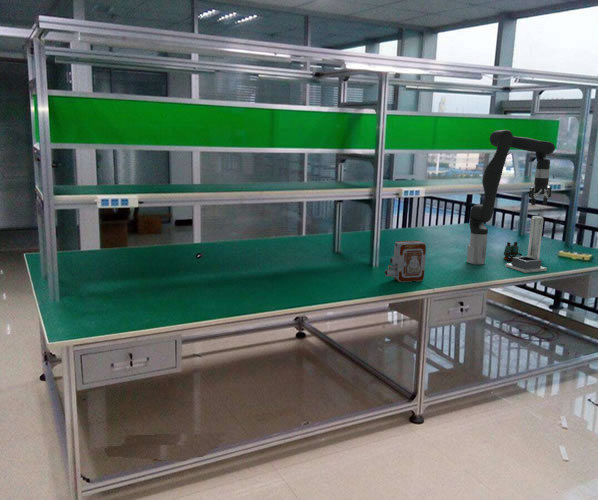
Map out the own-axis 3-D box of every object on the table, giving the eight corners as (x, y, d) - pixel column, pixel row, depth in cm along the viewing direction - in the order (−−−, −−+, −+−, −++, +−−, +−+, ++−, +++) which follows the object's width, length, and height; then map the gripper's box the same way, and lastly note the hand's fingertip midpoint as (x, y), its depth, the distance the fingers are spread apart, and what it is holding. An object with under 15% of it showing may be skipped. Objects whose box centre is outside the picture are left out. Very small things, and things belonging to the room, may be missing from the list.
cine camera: (381, 279, 279) (383, 240, 275) (417, 277, 283) (419, 238, 279) (388, 283, 270) (390, 243, 266) (425, 282, 274) (428, 242, 270)
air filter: (526, 258, 329) (531, 216, 324) (527, 256, 335) (532, 215, 329) (538, 259, 326) (543, 217, 321) (539, 257, 332) (544, 216, 326)
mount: (524, 272, 295) (525, 262, 294) (505, 266, 309) (506, 256, 308) (546, 270, 301) (547, 260, 300) (526, 264, 314) (527, 254, 313)
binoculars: (513, 246, 316) (503, 241, 325) (510, 263, 319) (500, 258, 328) (527, 245, 317) (517, 240, 327) (524, 263, 321) (514, 257, 330)
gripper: (537, 177, 314) (533, 206, 317) (556, 177, 319) (553, 205, 322) (527, 176, 321) (524, 204, 324) (546, 176, 326) (543, 203, 329)
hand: (538, 204), depth 323 cm, fingers open, 8 cm apart
